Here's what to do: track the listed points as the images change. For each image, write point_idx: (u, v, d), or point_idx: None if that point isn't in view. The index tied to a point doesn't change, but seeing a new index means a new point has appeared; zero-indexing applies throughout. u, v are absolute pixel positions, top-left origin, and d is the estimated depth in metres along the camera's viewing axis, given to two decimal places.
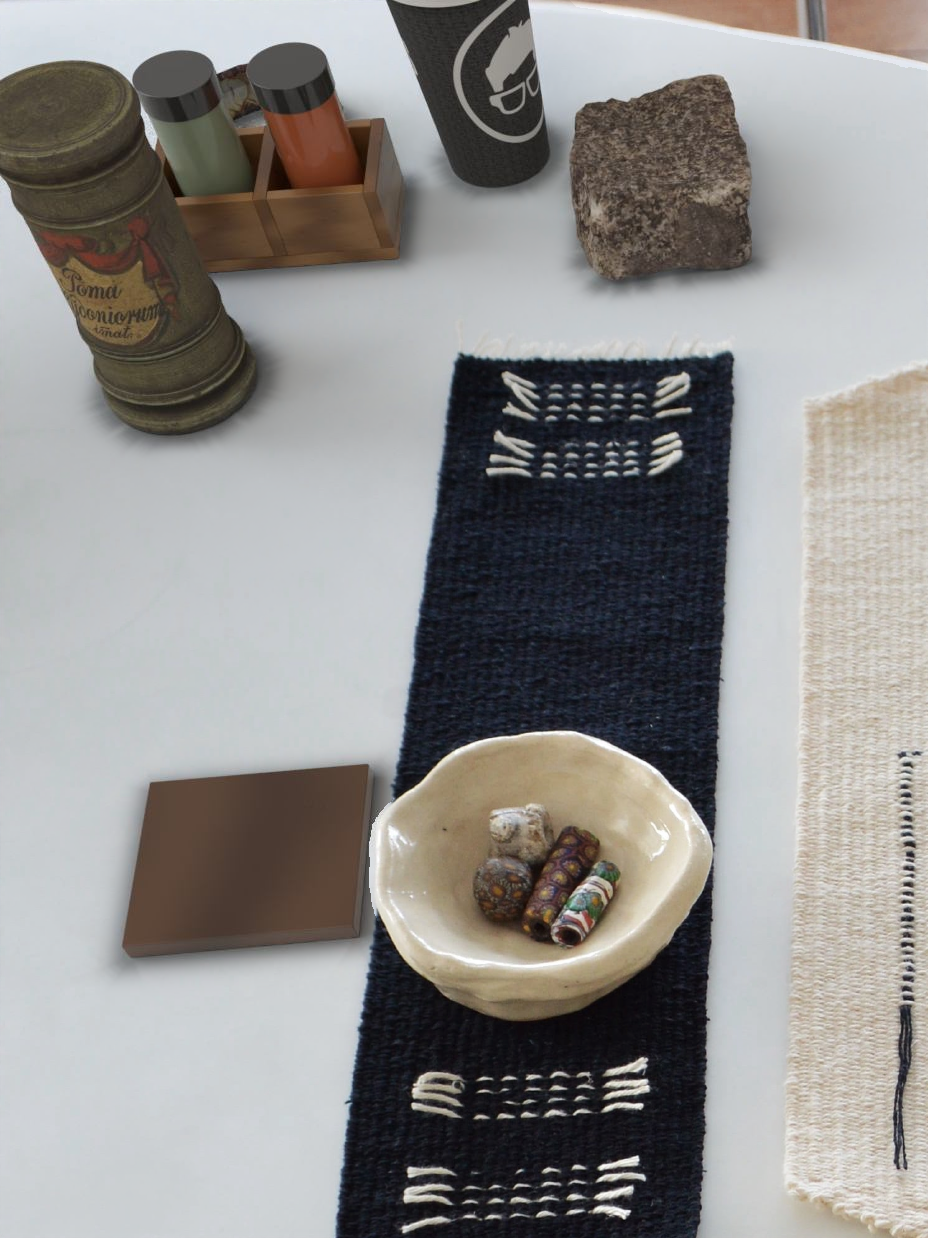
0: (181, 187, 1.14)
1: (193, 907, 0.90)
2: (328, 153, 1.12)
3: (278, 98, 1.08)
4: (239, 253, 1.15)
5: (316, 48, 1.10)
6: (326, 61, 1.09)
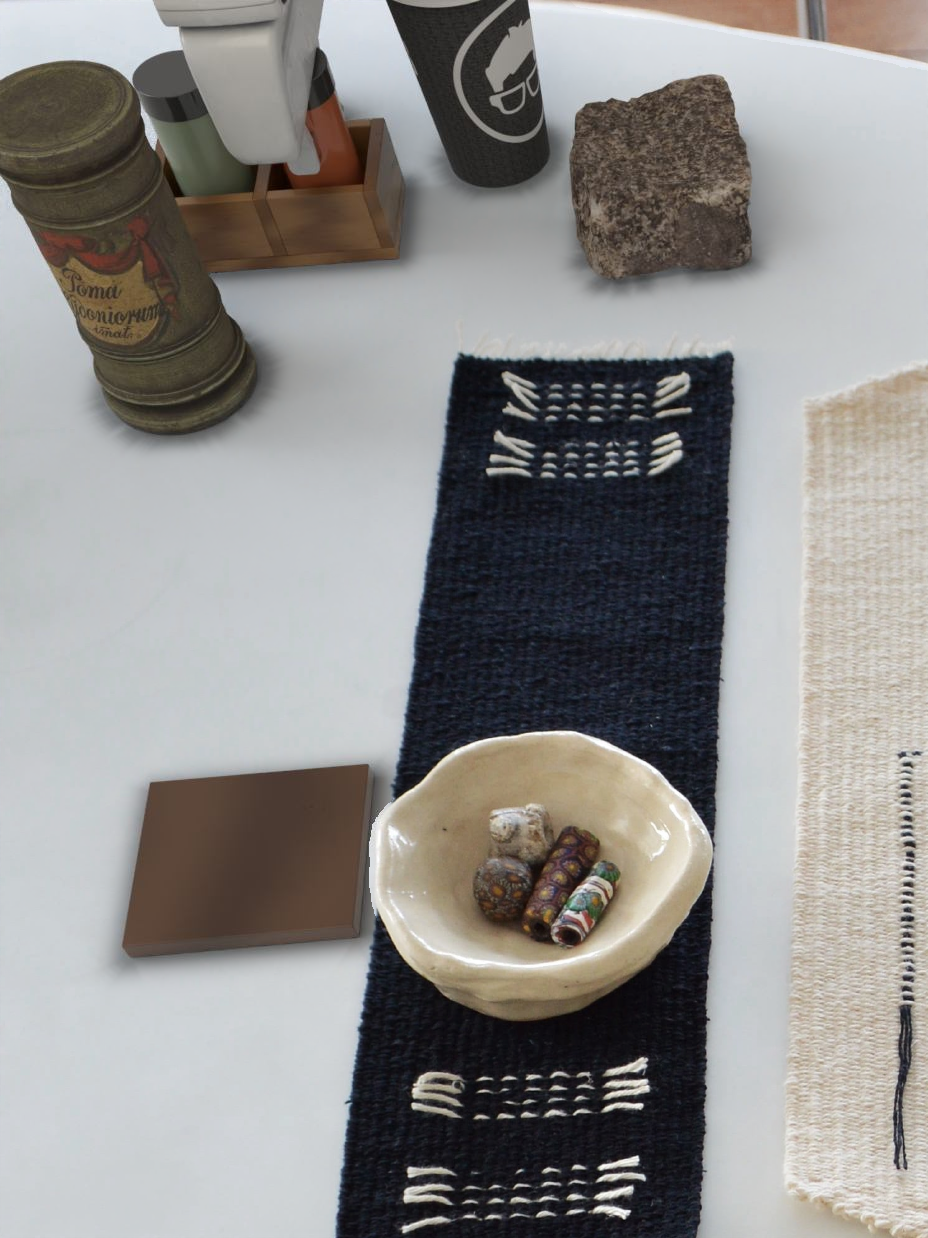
0: (181, 187, 1.14)
1: (193, 907, 0.90)
2: (328, 152, 1.12)
3: None
4: (239, 253, 1.15)
5: None
6: (326, 61, 1.09)
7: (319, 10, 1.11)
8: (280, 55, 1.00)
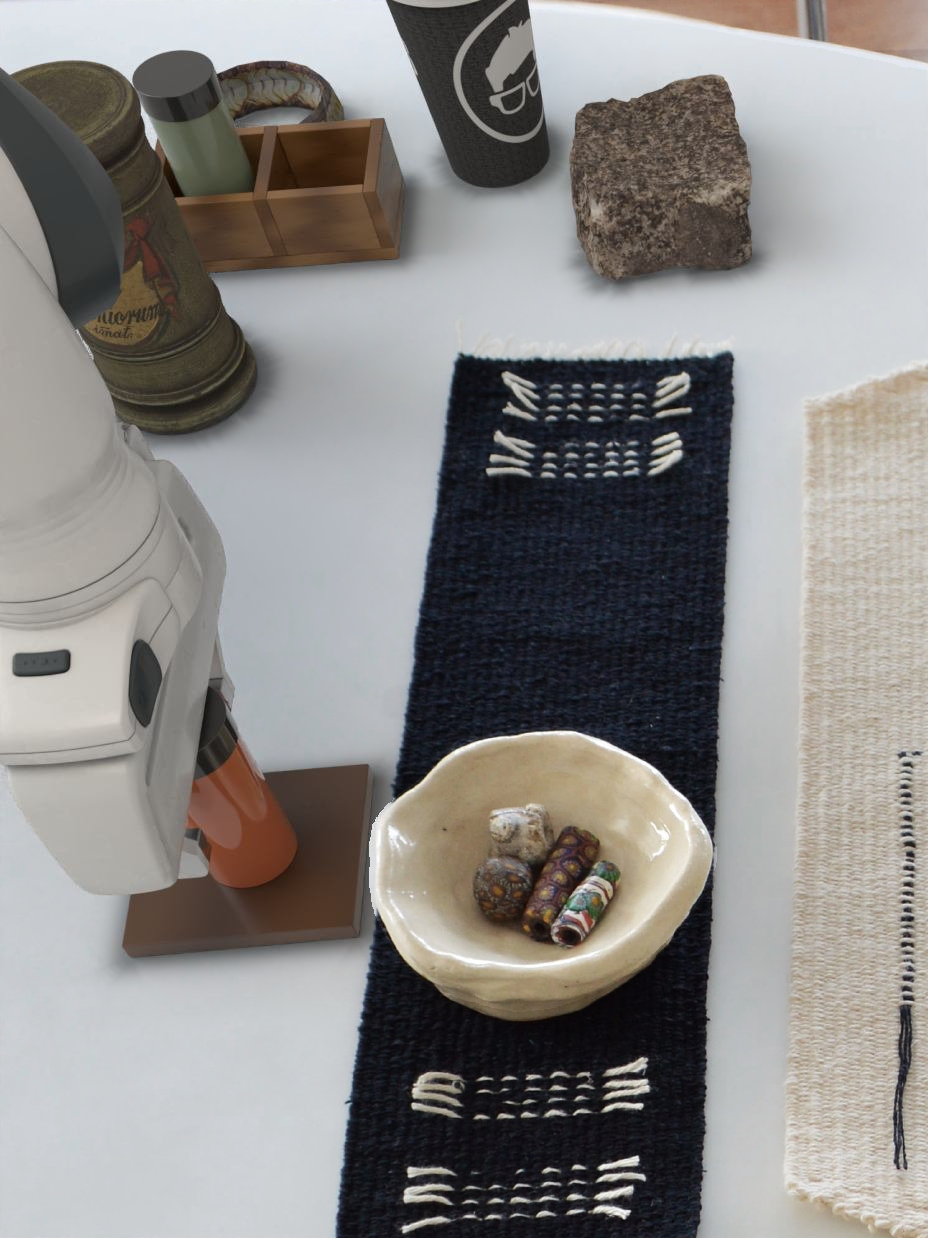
0: (181, 187, 1.14)
1: (193, 907, 0.90)
2: (231, 812, 0.86)
3: None
4: (239, 253, 1.15)
5: (212, 691, 0.84)
6: (225, 713, 0.83)
7: (212, 634, 0.84)
8: (143, 787, 0.74)
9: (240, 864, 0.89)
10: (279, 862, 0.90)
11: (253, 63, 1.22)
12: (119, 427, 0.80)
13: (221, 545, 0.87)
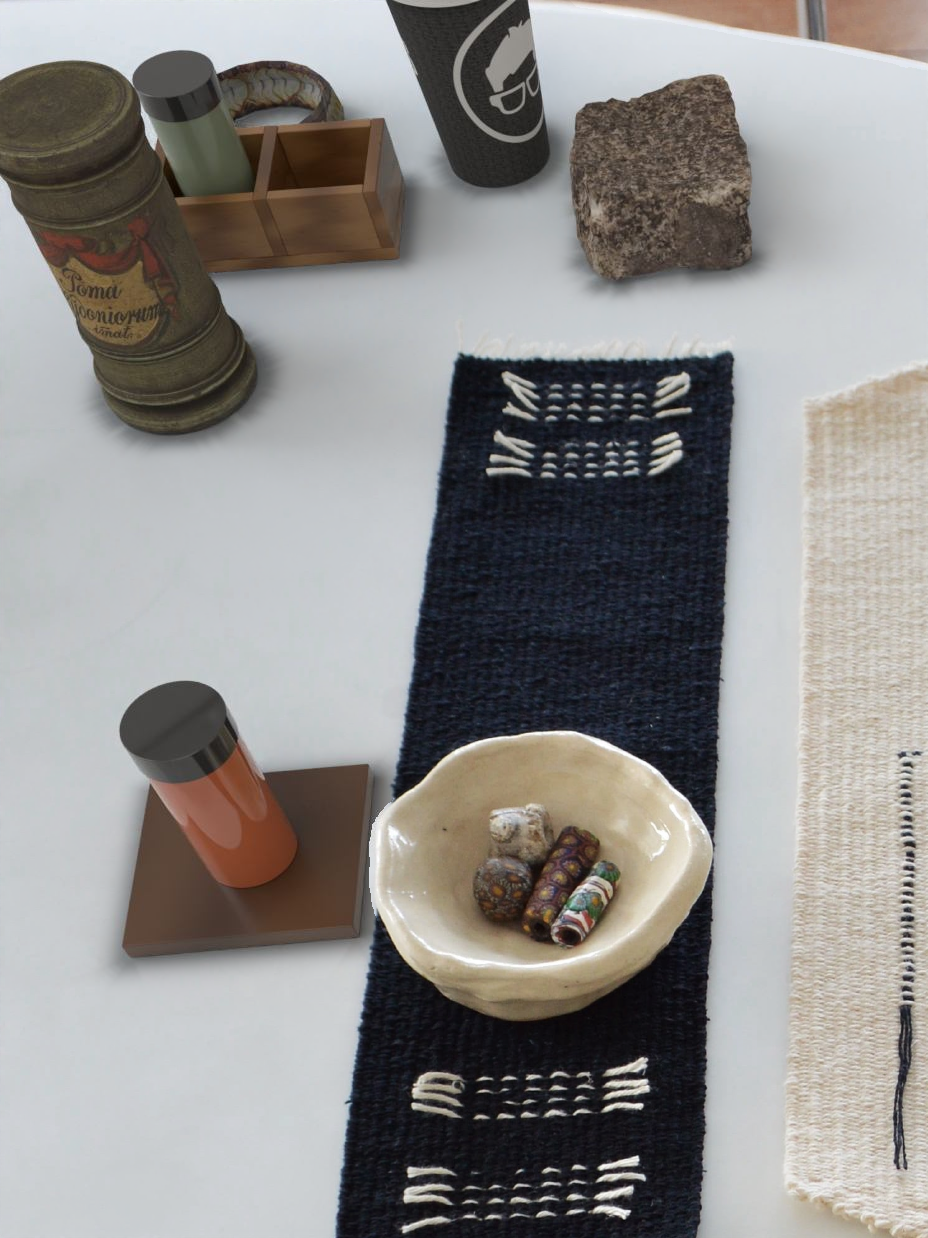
0: (181, 187, 1.14)
1: (193, 907, 0.90)
2: (231, 812, 0.86)
3: (161, 769, 0.82)
4: (239, 253, 1.15)
5: (212, 691, 0.84)
6: (225, 713, 0.83)
7: None
8: None
9: (240, 864, 0.89)
10: (279, 862, 0.90)
11: (253, 63, 1.22)
12: None
13: None
